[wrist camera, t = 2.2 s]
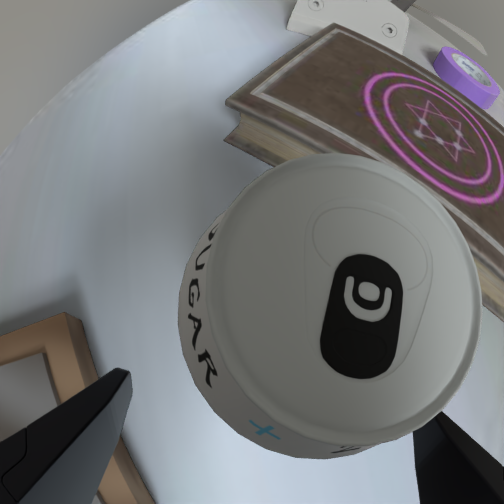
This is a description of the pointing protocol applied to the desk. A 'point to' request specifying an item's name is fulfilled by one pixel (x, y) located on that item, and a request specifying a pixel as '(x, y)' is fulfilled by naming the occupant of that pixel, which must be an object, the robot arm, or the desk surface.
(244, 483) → the desk surface
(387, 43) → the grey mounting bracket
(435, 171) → the book
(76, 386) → the brown square frame
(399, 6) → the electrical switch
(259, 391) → the energy drink can
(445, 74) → the masking tape
